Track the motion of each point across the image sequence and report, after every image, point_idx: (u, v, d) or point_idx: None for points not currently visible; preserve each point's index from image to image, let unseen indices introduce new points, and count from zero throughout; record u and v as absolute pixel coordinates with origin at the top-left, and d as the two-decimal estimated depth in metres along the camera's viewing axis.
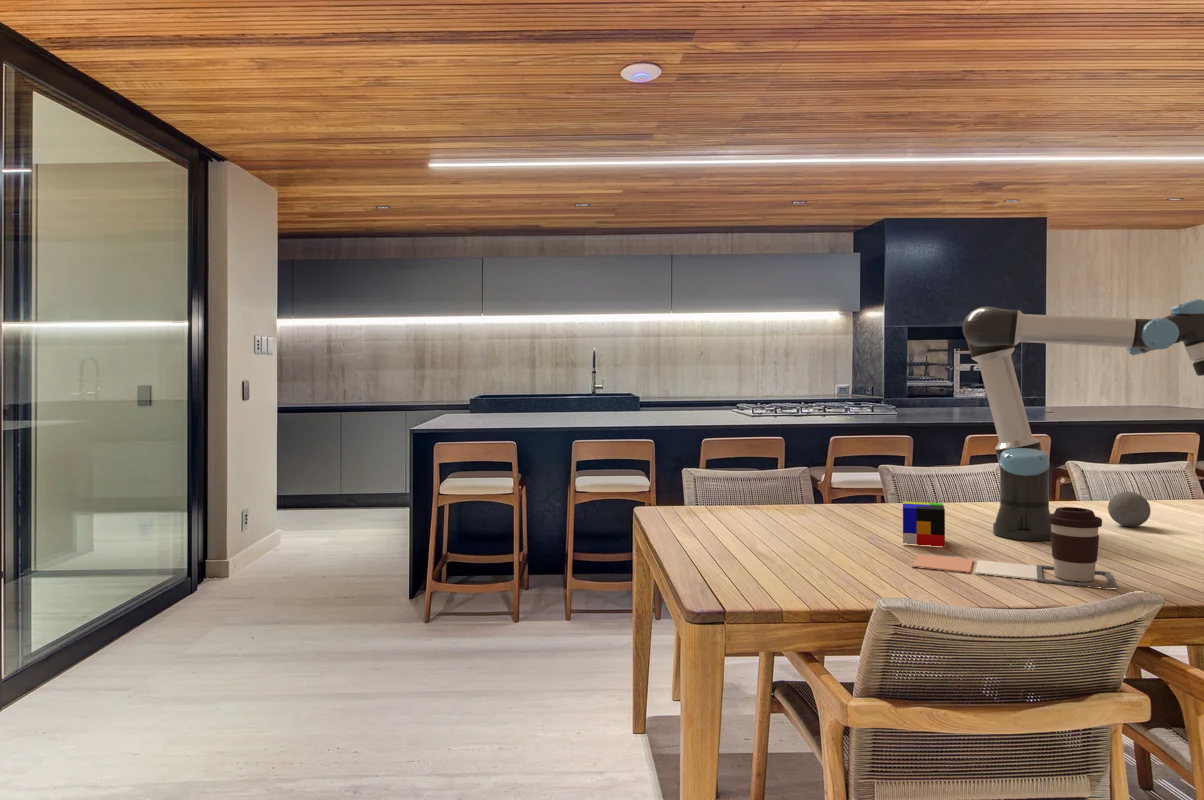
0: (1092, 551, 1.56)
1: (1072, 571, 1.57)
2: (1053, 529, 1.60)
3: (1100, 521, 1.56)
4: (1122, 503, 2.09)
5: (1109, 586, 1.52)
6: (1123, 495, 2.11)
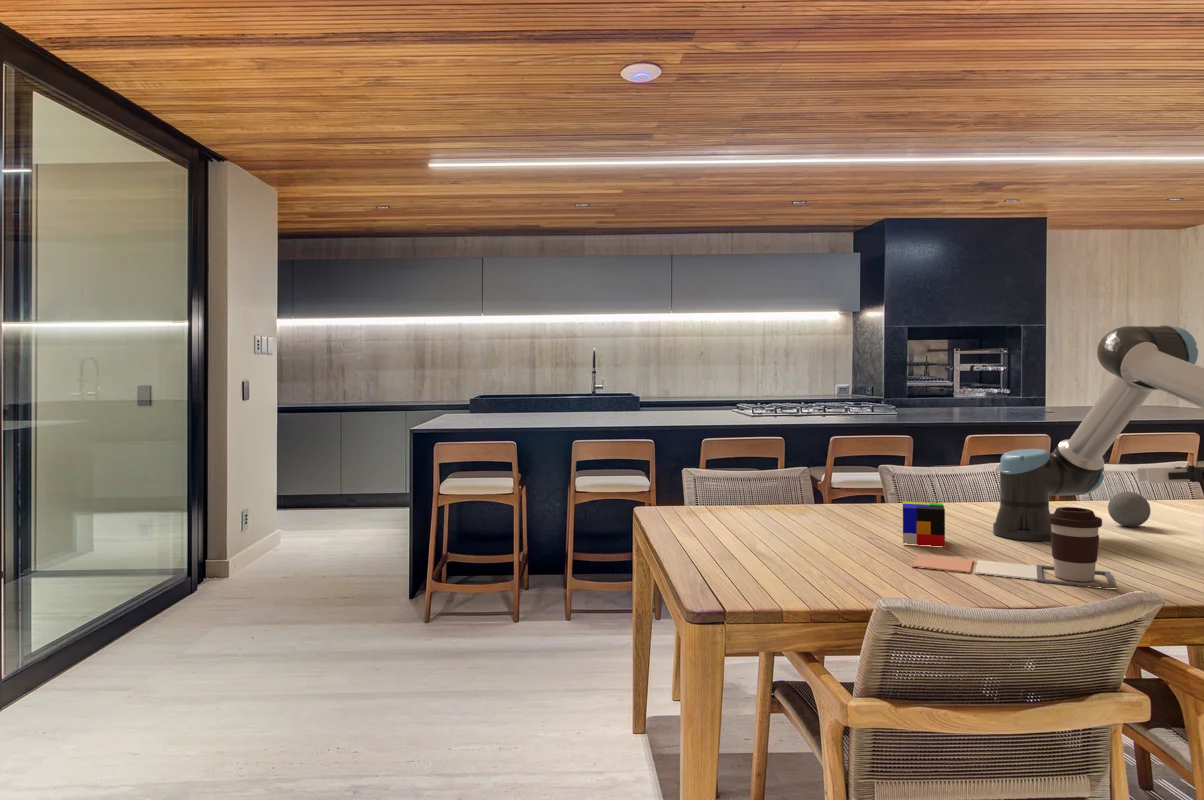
0: (1092, 551, 1.56)
1: (1072, 571, 1.57)
2: (1053, 529, 1.60)
3: (1100, 521, 1.56)
4: (1122, 503, 2.09)
5: (1109, 586, 1.52)
6: (1123, 495, 2.11)
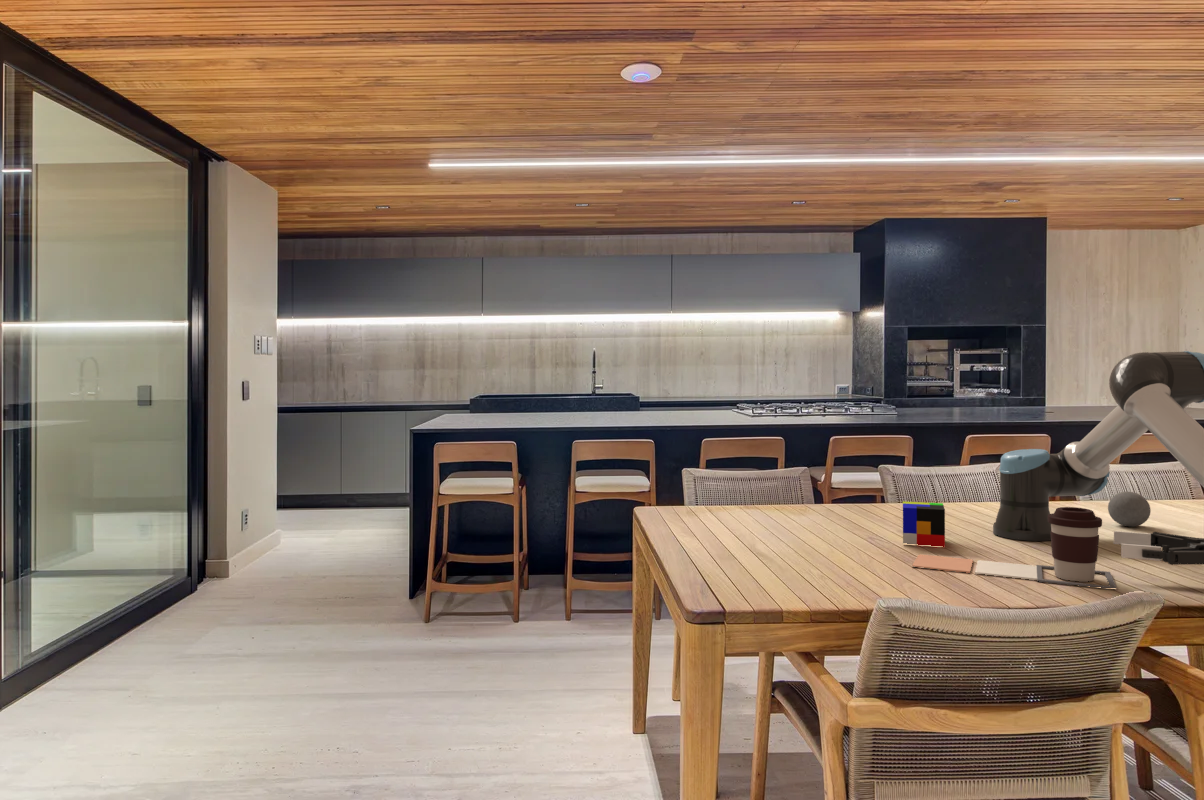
0: (1092, 551, 1.56)
1: (1072, 571, 1.57)
2: (1053, 529, 1.60)
3: (1100, 521, 1.56)
4: (1122, 503, 2.09)
5: (1109, 586, 1.52)
6: (1123, 495, 2.11)
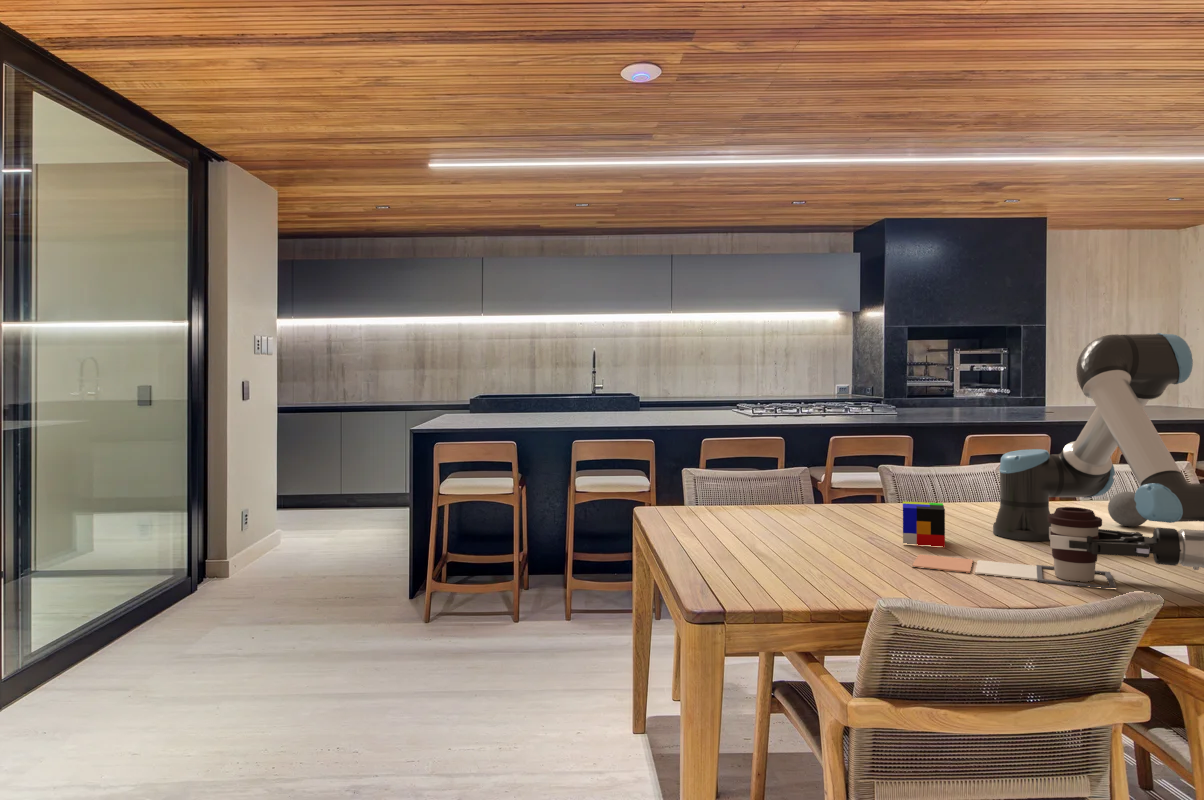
0: None
1: (1072, 571, 1.57)
2: (1053, 529, 1.60)
3: (1100, 521, 1.56)
4: (1122, 503, 2.09)
5: (1109, 586, 1.52)
6: (1123, 495, 2.11)
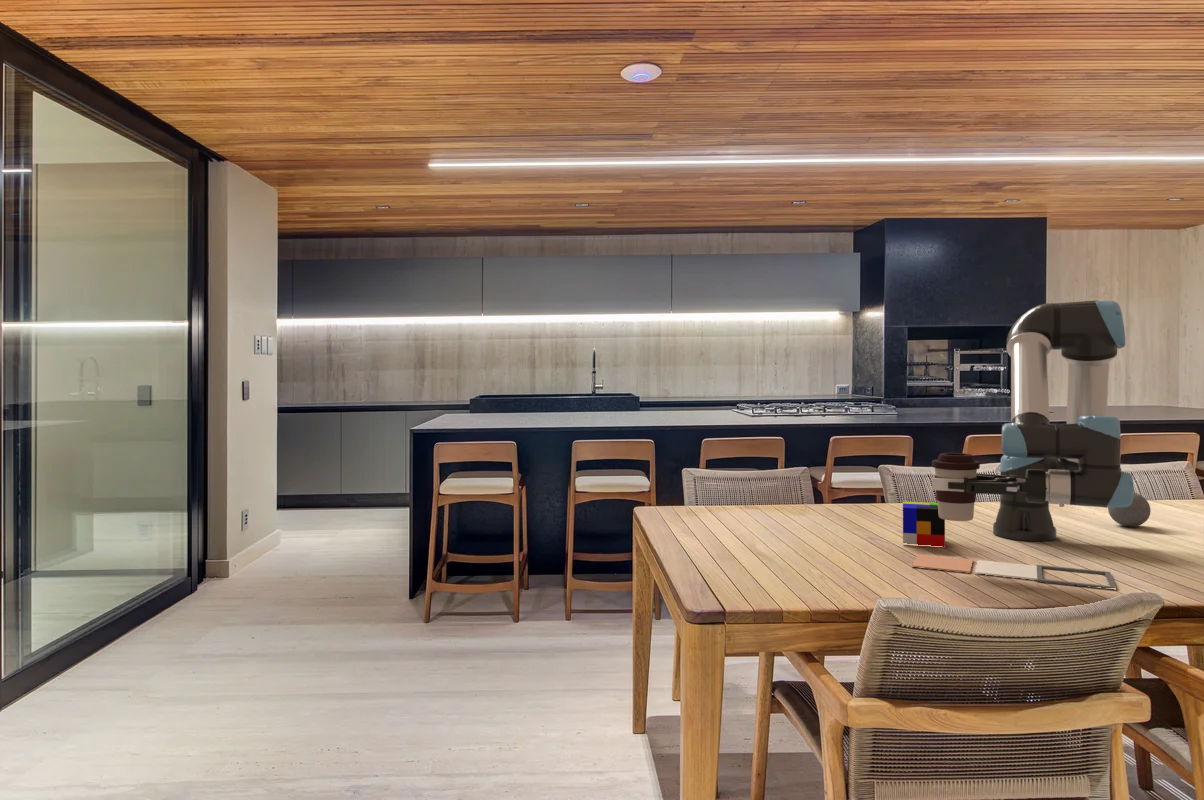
0: None
1: (952, 511, 1.68)
2: (936, 473, 1.71)
3: (977, 464, 1.66)
4: None
5: (1109, 586, 1.52)
6: None
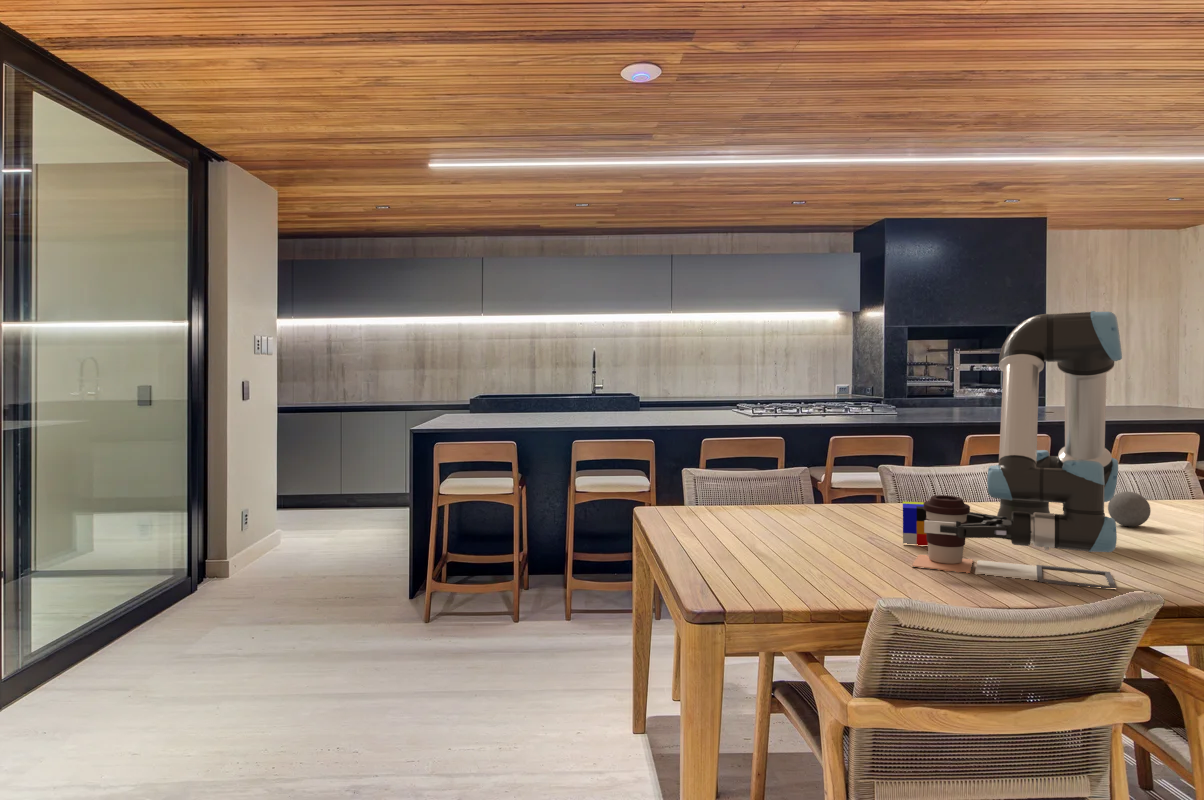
0: None
1: (941, 554, 1.72)
2: (927, 515, 1.74)
3: (967, 509, 1.70)
4: (1122, 503, 2.09)
5: (1109, 586, 1.52)
6: (1123, 495, 2.11)
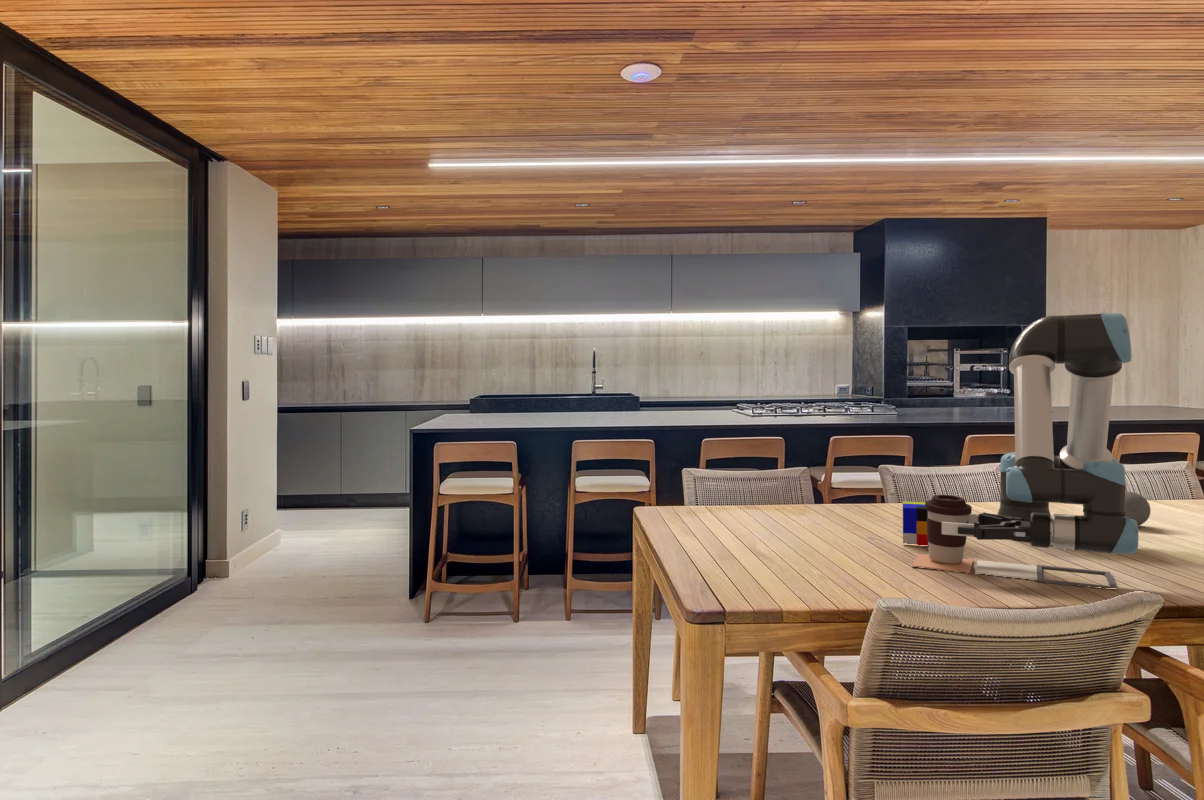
0: (960, 536, 1.70)
1: (942, 554, 1.71)
2: (928, 515, 1.74)
3: (969, 509, 1.70)
4: None
5: (1109, 586, 1.52)
6: None
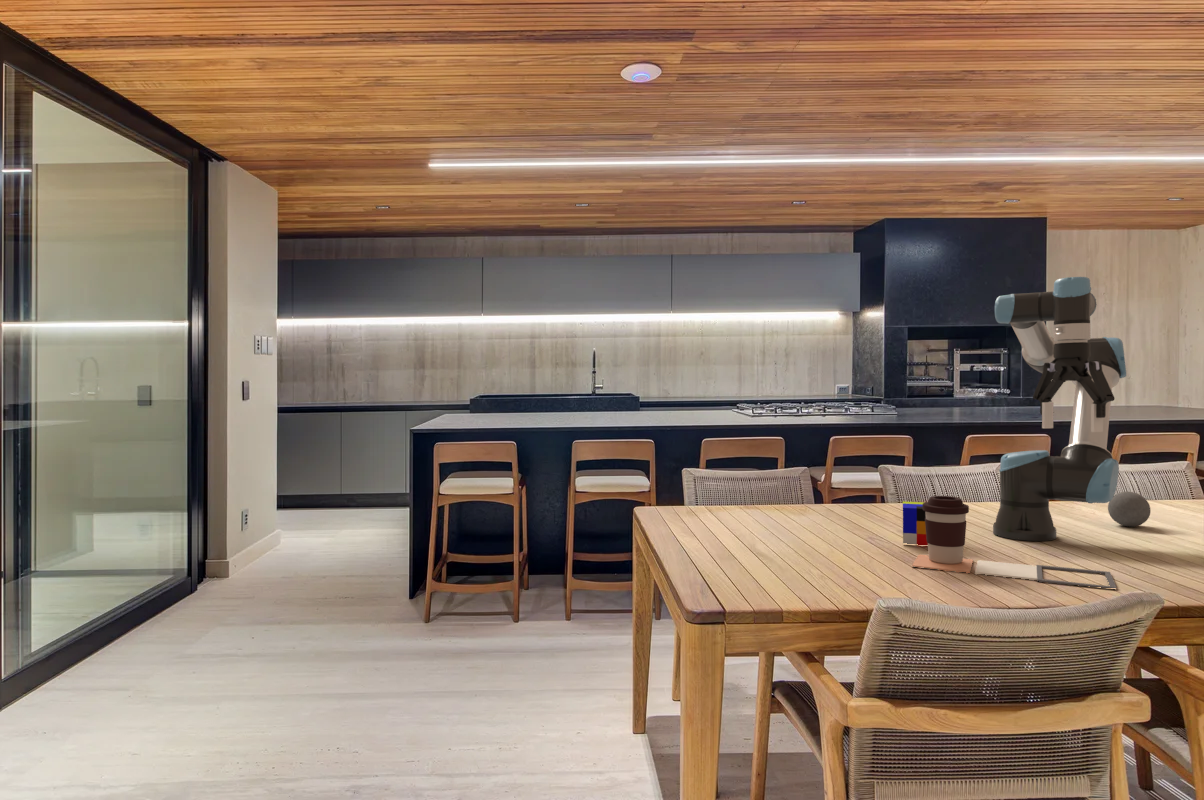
0: (958, 536, 1.70)
1: (941, 554, 1.72)
2: (926, 516, 1.75)
3: (966, 508, 1.70)
4: (1122, 503, 2.09)
5: (1109, 586, 1.52)
6: (1123, 495, 2.11)
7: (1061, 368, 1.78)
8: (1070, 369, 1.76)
